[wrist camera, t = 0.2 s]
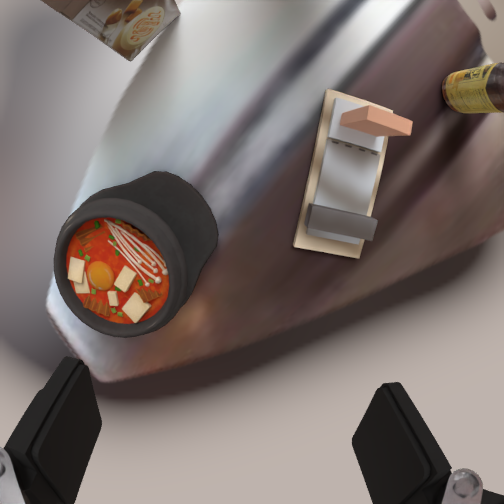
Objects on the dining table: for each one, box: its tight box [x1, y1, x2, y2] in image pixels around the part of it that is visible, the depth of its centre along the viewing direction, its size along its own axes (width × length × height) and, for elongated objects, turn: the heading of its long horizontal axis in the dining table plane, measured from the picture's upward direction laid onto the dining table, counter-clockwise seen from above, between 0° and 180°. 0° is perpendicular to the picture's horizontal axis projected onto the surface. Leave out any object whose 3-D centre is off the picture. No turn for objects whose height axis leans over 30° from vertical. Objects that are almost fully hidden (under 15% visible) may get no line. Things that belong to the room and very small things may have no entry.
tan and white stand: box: [327, 97, 413, 152], centre depth 30 cm, size 5×7×9 cm
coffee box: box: [42, 0, 180, 61], centre depth 22 cm, size 9×6×16 cm
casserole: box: [54, 171, 219, 338], centre depth 35 cm, size 25×19×8 cm
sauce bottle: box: [442, 63, 504, 113], centre depth 24 cm, size 7×6×20 cm
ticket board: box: [293, 89, 393, 258], centre depth 35 cm, size 20×9×4 cm, turn 169°
